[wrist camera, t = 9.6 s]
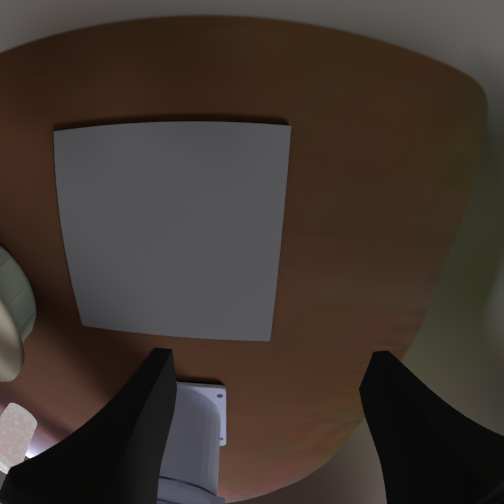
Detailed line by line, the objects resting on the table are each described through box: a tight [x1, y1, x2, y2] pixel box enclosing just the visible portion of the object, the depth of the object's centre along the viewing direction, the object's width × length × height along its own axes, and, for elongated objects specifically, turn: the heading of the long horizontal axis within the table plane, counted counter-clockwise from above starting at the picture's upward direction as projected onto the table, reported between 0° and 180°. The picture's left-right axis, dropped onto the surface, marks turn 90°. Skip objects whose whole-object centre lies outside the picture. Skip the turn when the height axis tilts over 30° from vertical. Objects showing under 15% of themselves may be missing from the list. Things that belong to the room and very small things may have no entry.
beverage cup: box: [0, 403, 37, 474], centre depth 21 cm, size 6×6×14 cm
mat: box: [54, 121, 291, 341], centre depth 18 cm, size 14×14×1 cm
